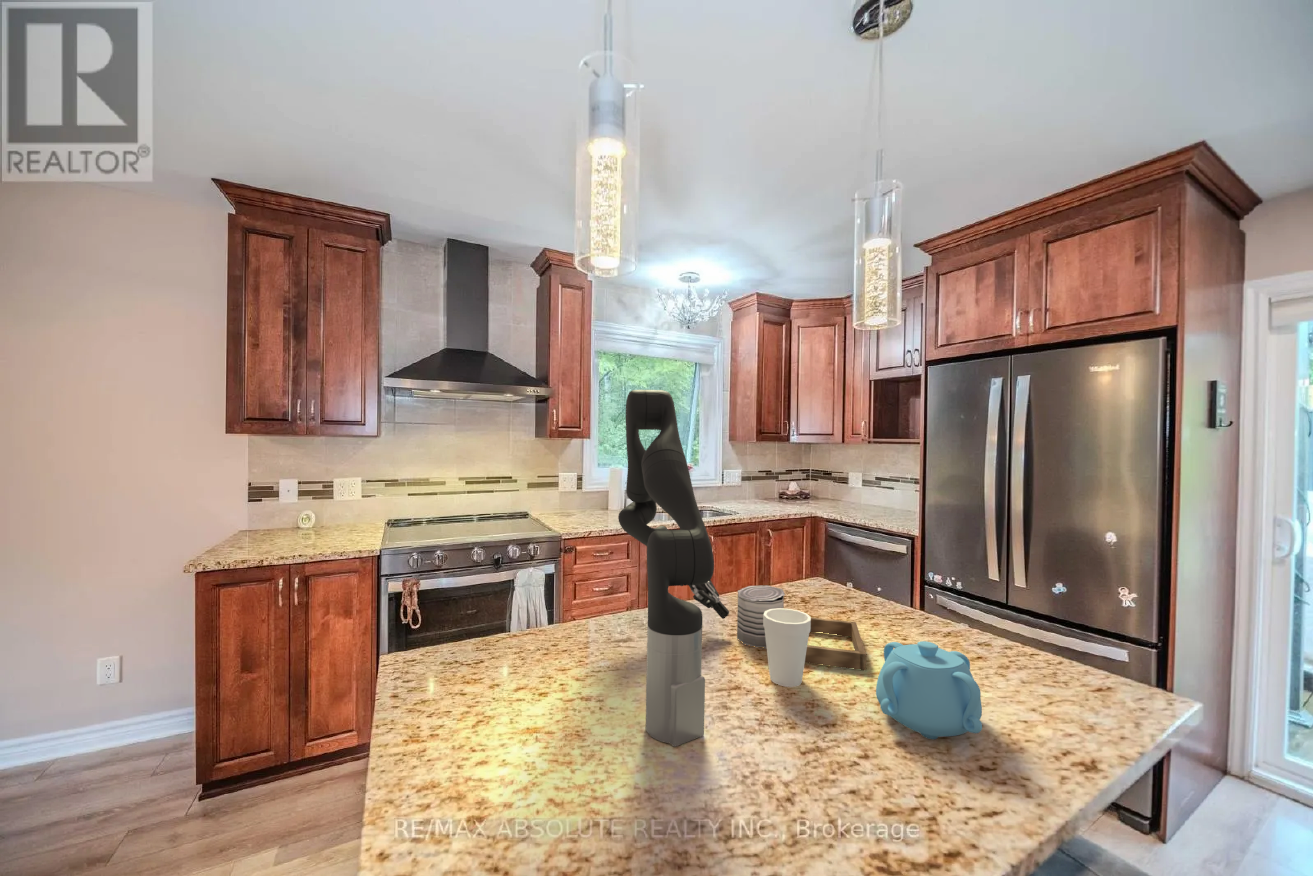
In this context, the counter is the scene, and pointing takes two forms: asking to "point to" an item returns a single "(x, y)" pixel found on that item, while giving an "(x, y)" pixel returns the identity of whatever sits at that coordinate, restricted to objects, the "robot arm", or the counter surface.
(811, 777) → the counter surface
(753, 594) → the can
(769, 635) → the foam cup
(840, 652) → the tray
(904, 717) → the decorative pot
